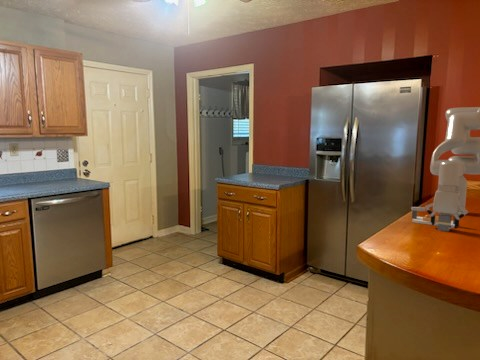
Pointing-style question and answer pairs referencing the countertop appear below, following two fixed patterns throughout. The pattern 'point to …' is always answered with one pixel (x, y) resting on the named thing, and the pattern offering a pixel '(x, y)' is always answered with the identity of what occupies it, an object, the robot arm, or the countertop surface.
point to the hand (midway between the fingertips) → (444, 225)
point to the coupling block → (444, 222)
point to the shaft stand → (427, 217)
